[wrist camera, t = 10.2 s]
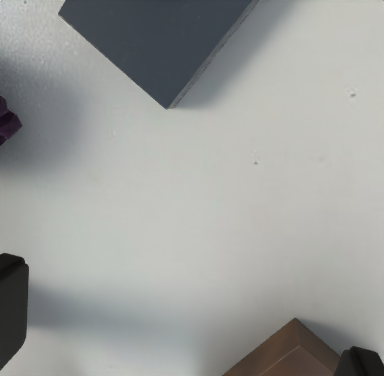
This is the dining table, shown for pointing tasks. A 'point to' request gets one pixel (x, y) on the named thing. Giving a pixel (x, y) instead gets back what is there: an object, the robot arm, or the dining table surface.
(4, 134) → the fruit
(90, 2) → the button box
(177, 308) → the dining table surface
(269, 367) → the console
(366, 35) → the dining table surface
